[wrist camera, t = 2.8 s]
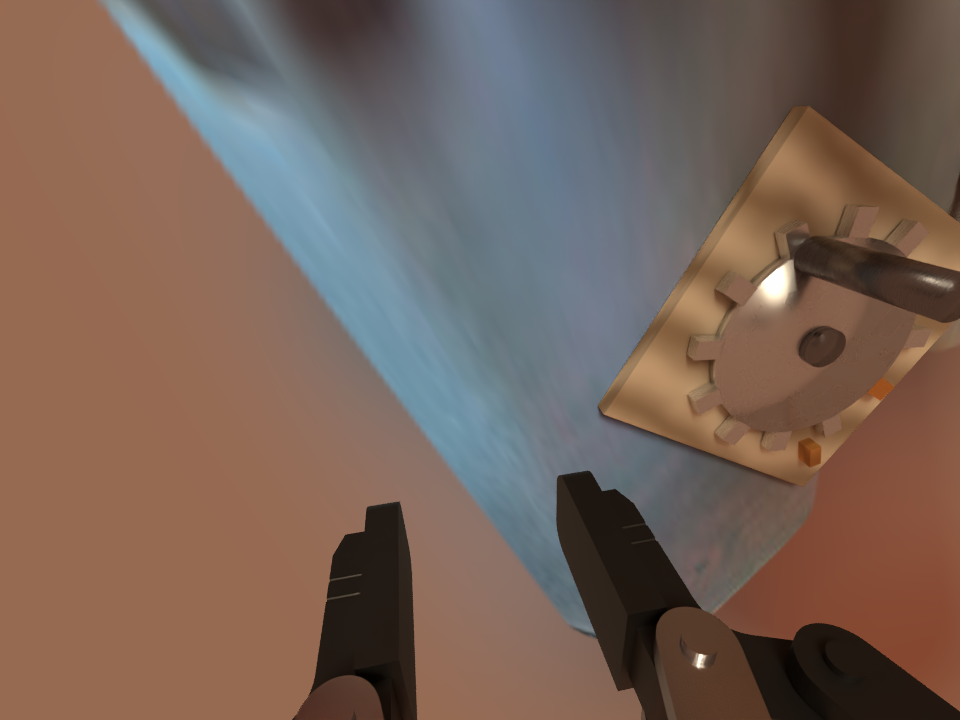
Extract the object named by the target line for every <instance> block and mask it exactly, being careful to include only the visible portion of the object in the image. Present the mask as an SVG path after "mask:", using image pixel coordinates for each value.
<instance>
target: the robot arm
mask: <svg viewBox="0 0 960 720" xmlns="http://www.w3.org/2000/svg"><path fill="white" fill-rule="evenodd" d="M556 522H557V531H558V536H559V541H560V544H561V547H562V550H563V553H564V555H565V558H566V560H567V563H568V565H569V568H570V570H571V573H572V575H573V578H574V581H575V583H576V586H577V588H578V591H579V593H580V596H581V598H582V601H583V603H584V606H585V608H586V611H587V614H588V616H589V619H590V621H591V624H592V626H593V629H594V631H595V634H596V636H597V639H598V642H599V644H600V647H601V649H602V651H603V654H604V657H605V659H606V662H607V664H608V667H609V669H610V672H611V674H612V677H613V680H614V682H615V685H616V687H617V690H618V691H620V690H625V689H630V688H634V689H635V692H636V694H637V696H638V699H639V701H640V703H641V706H642V713H641V720H960V712H959V711H958V710H957V709H956V708H954V707H953V706H952V705H950V704H949V703H948V702H946V701H945V700H944V699H942V698H941V697H939V696H938V695H937V694H935V693H934V692H933V691H931V690H930V689H929V688H927V687H926V686H925V685H923V684H922V683H921V682H919V681H918V680H917V679H915V678H914V677H913V676H911V675H910V674H909V673H907V672H906V671H905V670H903V669H902V668H901V667H899V666H898V665H897V664H895V663H894V662H893V661H891V660H890V659H889V658H887V657H886V656H885V655H883V654H882V653H880V652H879V651H878V650H876V649H875V648H874V647H873V646H871V645H870V644H868V643H867V642H866V641H864V640H863V639H861V638H860V637H858V636H857V635H855V634H853V633H851V632H849V631H847V630H844V629H842V628H840V627H836V626H833V625H829V624H822V623H815V624H809V625H806V626H804V627H802V628H801V629H800V630H799V631H798V632H797V633H796V635H795V638H794V640H785V639H778V638H769V637H762V636H755V635H748V634H743V633H740V632H737V631H734V630H731V629H730V628H729V627H728V626H727V625H726V624H725V623H723V622H722V621H721V620H720V619H718V618H717V617H716V616H714V615H712V614H710V613H708V612H706V611H704V610H702V609H701V608H700V606H699V605H698V604H697V603H696V601H695V600H694V598H693V597H692V595H691V594H690V592H689V590H688V589H687V587H686V586H685V584H684V582H683V581H682V579H681V578H680V576H679V575H678V573H677V571H676V570H675V568H674V567H673V565H672V563H671V562H670V560H669V559H668V557H667V556H666V554H665V552H664V551H663V549H662V548H661V546H660V544H659V543H658V541H656V540H655V537H654V535H653V533H652V532H651V530H650V529H649V527H648V525H647V526H646V524H645V521H644V519H643V517H642V516H641V514H640V513H639V511H638V510H637V508H636V506H635V505H634V503H632V502H631V501H630V500H629V499H627V498H626V497H625V496H624V495H622V494H621V493H620V492H618V491H617V490H616V489H613V490H607V491H602V490H601V489H600V487H599V485H598V483H597V482H596V480H595V478H594V476H593V475H592V473H591V472H590V471H583V472H577V473H571V474H565V475H559V476H558V478H557V517H556ZM292 720H417V705H416V676H415V648H414V620H413V592H412V570H411V558H410V551H409V545H408V540H407V535H406V530H405V524H404V519H403V514H402V510H401V505H400V502H393V503H387V504H381V505H375V506H369V507H367V510H366V520H365V532H359V533H353V534H347V535H345V536H344V538H343V540H342V541H341V543H340V545H339V546H338V548H337V550H336V551H335V553H334V555H333V558H332V566H331V573H330V583H329V585H328V593H327V602H326V606H325V613H324V620H323V626H322V633H321V640H320V647H319V653H318V661H317V667H316V674H315V679H314V684H313V686H312V689H311V692H310V694H309V696H308V698H307V699H306V700H305V701H304V703H303V705H302V706H301V707H300V709H299V711H298V713H297V715H296V716H295V717H294V718H293V719H292Z"/></svg>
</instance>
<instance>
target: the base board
mask: <svg viewBox="0 0 960 720" xmlns="http://www.w3.org/2000/svg"><path fill="white" fill-rule="evenodd" d="M846 205H870V206H876V207H880V208H879V210H878V213H877V215H876V218H875V220H874V223H873V225H872V228H871V231H870V233H869V236H868V237H871V238H876V239H879V240H882V241H885V240H886V239H887V238H888V237H889V235H890V234H891V233H892V232H893V231H894V230H895V229H896V228H897V226H898V225H899V224H900V223H901V222H902V221H903V220H904V219H908V220H914V221H919V222H920V223H921V224H922V225H923V226H924V227H925V228H926V229H927V230H928V231H929V232H930V233H929V234H928V235H927V236H926V237H925V238H924V239H923V240H922V242H921V243H920V244H919V245H918V246H917V247H916V248H915V249H914V250H913V251H912V252H911V254H910V255H909V256H908V257H907V258H909V259H913V260H917V261H920V262H924V263H928V264H932V265H936V266H940V267H944V268H948V269H952V270H955V271H959V272H960V223H959V222H958V221H956V220H955V219H954V218H952V217H951V216H950V215H949V214H947V213H946V212H945V211H943V210H942V209H941V208H940V207H938V206H937V205H936V204H934V203H933V202H932V201H931V200H929V199H928V198H927V197H925V196H924V195H923V194H922V193H920V192H919V191H918V190H916V189H915V188H914V187H913V186H911V185H910V184H909V183H907V182H906V181H905V180H904V179H902V178H901V177H900V176H898V175H897V174H896V173H895V172H893V171H892V170H891V169H889V168H888V167H887V166H886V165H884V164H883V163H882V162H880V161H879V160H878V159H877V158H875V157H874V156H873V155H871V154H870V153H869V152H868V151H866V150H865V149H864V148H862V147H861V146H860V145H859V144H857V143H856V142H855V141H853V140H852V139H851V138H850V137H848V136H847V135H846V134H844V133H843V132H842V131H841V130H839V129H838V128H837V127H835V126H834V125H833V124H832V123H830V122H829V121H828V120H826V119H825V118H824V117H823V116H821V115H820V114H819V113H817V112H816V111H815V110H814V109H812V108H811V107H810V106H797V107H793V108H792V109H791V111H790V112H789V114H788V115H787V117H786V118H785V120H784V122H783V123H782V125H781V126H780V128H779V129H778V131H777V132H776V134H775V135H774V137H773V138H772V140H771V141H770V143H769V145H768V146H767V148H766V149H765V151H764V152H763V154H762V155H761V157H760V158H759V160H758V161H757V163H756V164H755V166H754V167H753V169H752V171H751V172H750V174H749V175H748V177H747V178H746V180H745V181H744V183H743V184H742V186H741V187H740V189H739V190H738V192H737V194H736V195H735V197H734V198H733V200H732V201H731V203H730V204H729V206H728V207H727V209H726V210H725V212H724V213H723V215H722V216H721V218H720V220H719V221H718V223H717V224H716V226H715V227H714V229H713V230H712V232H711V233H710V235H709V236H708V238H707V239H706V241H705V243H704V244H703V246H702V247H701V249H700V250H699V252H698V253H697V255H696V256H695V258H694V259H693V261H692V262H691V264H690V265H689V267H688V269H687V270H686V272H685V273H684V275H683V276H682V278H681V279H680V281H679V282H678V284H677V285H676V287H675V288H674V290H673V292H672V293H671V295H670V296H669V298H668V299H667V301H666V302H665V304H664V305H663V307H662V308H661V310H660V311H659V313H658V314H657V316H656V318H655V319H654V321H653V322H652V324H651V325H650V327H649V328H648V330H647V331H646V333H645V334H644V336H643V337H642V339H641V341H640V342H639V344H638V345H637V347H636V348H635V350H634V351H633V353H632V354H631V356H630V357H629V359H628V360H627V362H626V364H625V365H624V367H623V368H622V370H621V371H620V373H619V374H618V376H617V377H616V379H615V380H614V382H613V383H612V385H611V386H610V388H609V390H608V391H607V393H606V394H605V396H604V397H603V399H602V400H601V402H600V403H599V405H598V407H599V408H600V410H601V411H602V412H603V414H604V415H607V416H610V417H612V418H615V419H618V420H621V421H623V422H626V423H629V424H632V425H634V426H637V427H640V428H643V429H645V430H648V431H651V432H654V433H656V434H659V435H662V436H665V437H667V438H670V439H673V440H675V441H678V442H681V443H684V444H686V445H689V446H692V447H695V448H697V449H700V450H703V451H706V452H708V453H711V454H714V455H717V456H719V457H722V458H725V459H728V460H730V461H733V462H736V463H739V464H741V465H744V466H747V467H750V468H752V469H755V470H758V471H761V472H763V473H766V474H769V475H772V476H774V477H777V478H780V479H783V480H785V481H788V482H791V483H794V484H796V485H799V486H802V487H803V486H804V485H805V484H806V483H807V482H808V481H809V480H810V479H811V478H812V476H813V475H814V474H815V473H816V472H817V471H818V470H819V469H820V468H821V467H822V465H823V464H824V463H825V462H826V461H827V460H828V459H829V458H830V456H832V454H833V453H834V452H835V451H836V450H837V449H838V448H839V447H840V446H841V445H842V444H843V442H844V441H845V440H846V439H847V438H848V437H849V436H850V435H851V434H852V433H853V431H854V430H855V429H856V428H857V427H858V426H859V425H860V424H861V423H862V422H863V420H864V419H865V418H866V417H867V416H868V415H869V414H870V413H871V412H872V411H873V409H874V408H875V407H876V406H877V405H878V404H879V403H880V402H881V401H882V400H883V399H882V400H881V401H880V400H878V399H876V398H874V397H873V396H871V395H869V394H868V393H866V394H865V395H863V396H862V397H861V398H860V399H859V400H857V401H856V402H855V403H853V404H852V405H851V406H849V407H848V408H846V409H845V410H843V411H842V412H840V413H839V414H840V420H841V426H842V429H841V430H839V431H837V432H835V433H833V434H831V435H829V436H827V437H826V438H825V437H824V436H822V435H821V434H820V433H818V432H817V431H816V429H815V425H813V426H810V427H806V428H803V429H799V430H794V431H792V433H791V436H790V438H789V441H788V444H787V446H786V449H785V450H780V451H770V452H769V451H768V450H767V449H766V448H764V447H763V446H762V445H761V442H762V440H763V437H764V434H765V431H759V430H756V429H753V428H750V429H749V430H748V431H747V432H746V434H745V435H744V436H743V437H742V438H741V439H740V440H739V441H738V442H737V443H736V444H735V446H733V445H731V444H730V443H728V442H726V441H724V440H722V439H721V438H720V437H719V436H718V435H717V434H716V433H715V431H716V430H717V429H718V428H719V427H720V426H721V425H722V423H723V422H724V421H725V420H726V419H727V418H728V417H729V416H730V414H729V413H728V412H727V411H726V410H725V409H724V408H723V407H722V405H721V404H720V405H718V406H716V407H715V408H713V409H711V410H709V411H707V412H705V413H703V414H701V415H700V414H699V413H698V412H697V411H695V410H694V409H693V407H692V404H691V402H690V399H689V396H688V394H690V393H692V392H694V391H696V390H698V389H699V388H701V387H703V386H705V385H707V384H709V383H711V380H710V360H696V361H694V360H693V359H692V358H690V357H689V356H688V355H687V351H688V347H689V343H690V339H691V336H701V335H716V333H717V331H718V328H719V326H720V324H721V322H722V320H723V318H724V316H725V314H726V312H727V311H728V309H729V307H730V306H731V304H732V303H733V301H732V300H731V299H729V298H728V297H726V296H725V295H723V294H722V293H720V292H719V291H717V290H716V289H715V288H716V287H717V286H718V285H719V283H720V282H721V281H722V279H723V278H724V277H725V276H726V274H727V273H728V272H729V271H733V272H735V273H737V274H739V275H741V276H742V277H744V278H745V279H746V280H748V281H749V282H750V281H751V280H752V279H753V278H754V277H755V276H756V275H757V274H758V273H759V272H760V271H762V270H763V269H764V268H765V267H766V266H767V265H769V264H770V263H771V262H773V261H774V260H776V259H777V258H778V257H780V255H779V250H778V245H777V240H776V235H775V231H776V230H778V229H780V228H782V227H784V226H785V225H787V224H789V223H791V222H792V221H794V220H799V221H803V222H807V224H808V230H809V236H810V237H813V236H823V237H826V236H831V235H836V233H837V230H838V228H839V225H840V222H841V219H842V216H843V214H844V211H845V208H846ZM953 322H954V321H953ZM953 322H949V323H941V322H938V321H935V320H932V319H930V318H927V317H924V316H921V315H918V314H916V317H915V321H914V324H913V325H922V326H925V327H928V328H930V329H933V330H932V332H931V334H930V336H929V338H928V340H927V342H926V344H925V346H924V347H916V348H903V349H902V350H901V352H900V354H899V356H898V357H897V358H896V360H895V361H894V363H893V364H892V366H891V367H890V368H889V370H888V371H887V372H886V373H885V374H884V376H883V377H882V378H884V379H885V380H886V381H888V382H889V383H890V384H892V385H893V386H895V385H896V384H897V383H898V382H899V381H900V380H901V379H902V378H903V376H904V375H905V374H906V373H907V372H908V371H909V370H910V369H911V368H912V367H913V366H914V364H915V363H916V362H917V361H918V360H919V359H920V357H922V355H924V353H925V352H926V351H927V350H928V349H929V348H930V347H931V346H932V345H933V344H934V342H935V341H936V340H937V339H938V338H939V337H940V336H941V335H942V334H943V333H944V331H945V330H946V329H947V328H948V327H949V326H950V325H951V324H952V323H953Z"/></svg>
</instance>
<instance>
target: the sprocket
mask: <svg viewBox="0 0 960 720" xmlns="http://www.w3.org/2000/svg"><path fill="white" fill-rule="evenodd" d="M879 208H880V207H876V206H870V205H846V208H845V211H844V214H843V216H842V219H841V222H840V225H839V228H838V230H837V233H836V235H831V236H826V237H823V236H813V237H810V236H809V230H808V224H807V222H803V221H799V220H794V221H792V222H791V223H789V224H787V225H785V226H784V227H782V228H780V229H778V230H776V231H775V235H776V240H777V245H778V250H779V255H780V257H778V258H777V259H776V260H774V261H773V262H771V263H770V264H769V265H767V266H766V267H765V268H764V269H763V270H762V271H760V272H759V273H758V274H757V275H756V276H755V277H754V278H753V279H752V280H751V281H750V282H749V281H748V280H746V279H745V278H744V277H742V276H741V275H739V274H737V273H735V272H733V271H729V272H728V273H727V274H726V276H725V277H724V278H723V279H722V281H721V282H720V283H719V285H718V286H717V287H716V288H715V289H716V290H717V291H719V292H720V293H722V294H723V295H725V296H726V297H728V298H729V299H731V300H732V301H733V303H732V304H731V306H730V307H729V309H728V311H727V312H726V314H725V316H724V318H723V320H722V322H721V324H720V326H719V328H718V331H717V333H716V335H701V336H691V339H690V343H689V347H688V351H687V355H688V356H689V357H690V358H692V359H693V360H694V361H696V360H710V380H711V383H709V384H707V385H705V386H703V387H701V388H699V389H698V390H696V391H694V392H692V393H690V394H688V396H689V399H690V402H691V404H692V407H693V409H694V410H695V411H697V412H698V413H699V414H700V415H701V414H703V413H705V412H707V411H709V410H711V409H713V408H715V407H716V406H718V405H720V404H721V405H722V407H723V408H724V409H725V410H726V411H727V412H728V413H729V414H730V416H729V417H728V418H727V419H726V420H725V421H724V422H723V423H722V425H721V426H720V427H719V428H718V429H717V430H716V431H715V433H716V434H717V435H718V436H719V437H720V438H721V439H722V440H724V441H726V442H728V443H730V444H731V445H733V446H735V444H736V443H737V442H738V441H739V440H740V439H741V438H742V437H743V436H744V435H745V434H746V432H747V431H748V430H749V429H750V428H753V429H756V430H759V431H765V434H764V437H763V440H762V442H761V445H762V446H763V447H764V448H766V449H767V450H768V451H769V452H770V451H780V450H785V449H786V446H787V444H788V441H789V438H790V436H791V433H792V431H794V430H799V429H803V428H806V427H810V426H813V425H815V429H816V431H817V432H818V433H820V434H821V435H822V436H824V437H825V438H826V437H827V436H829V435H831V434H833V433H835V432H837V431H839V430H841V429H842V426H841V420H840V414H839V413H840V412H842V411H843V410H845V409H846V408H848V407H849V406H851V405H852V404H853V403H855V402H856V401H857V400H859V399H860V398H861V397H862V396H863V395H865V394H866V393H868V394H869V395H871V396H873V397H874V398H876V399H878V400H880V401H881V400H882V399H883V398H884V397H885V396H886V395H887V394H888V393H889V392H890V391H891V390H892V389H893V388H894V387H895V386H893V385H892V384H890V383H889V382H888V381H886V380H885V379H884V378H882V377H883V376H884V374H885V373H886V372H887V371H888V370H889V368H890V367H891V366H892V364H893V363H894V361H895V360H896V358H897V357H898V356H899V354H900V352H901V350H902V349H903V348H916V347H924V346H925V344H926V342H927V340H928V338H929V336H930V334H931V332H932V330H933V329H930V328H928V327H925V326H922V325H913V324H914V321H915V317H916V314H918V315H921V316H924V317H927V318H930V319H932V320H935V321H938V322H941V323H949V322H953V321H955V320H957V319H959V318H960V272H959V271H955V270H952V269H948V268H944V267H940V266H936V265H932V264H928V263H924V262H920V261H917V260H913V259H909V258H907V257H908V256H909V255H910V254H911V252H912V251H913V250H914V249H915V248H916V247H917V246H918V245H919V244H920V243H921V242H922V240H923V239H924V238H925V237H926V236H927V235H928V234H929V233H930V232H929V231H928V230H927V229H926V228H925V227H924V226H923V225H922V224H921V223H920V222H919V221H914V220H908V219H904V220H903V221H902V222H901V223H900V224H899V225H898V226H897V228H896V229H895V230H894V231H893V232H892V233H891V234H890V235H889V237H888V238H887V239H886V240H885V241H882V240H879V239H876V238H871V237H868V236H869V233H870V231H871V228H872V225H873V223H874V220H875V218H876V215H877V213H878V210H879Z"/></svg>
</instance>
